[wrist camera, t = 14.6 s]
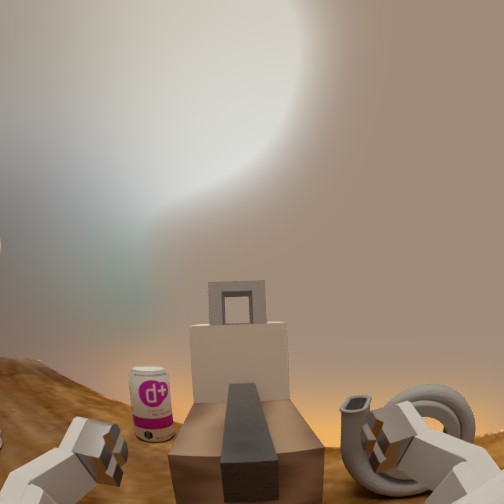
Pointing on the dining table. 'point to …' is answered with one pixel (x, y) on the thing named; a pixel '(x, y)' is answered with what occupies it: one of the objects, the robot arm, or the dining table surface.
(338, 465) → the dining table surface
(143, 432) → the supplement can
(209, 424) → the step
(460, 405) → the turbocharger housing
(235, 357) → the stand
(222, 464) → the metal bar
